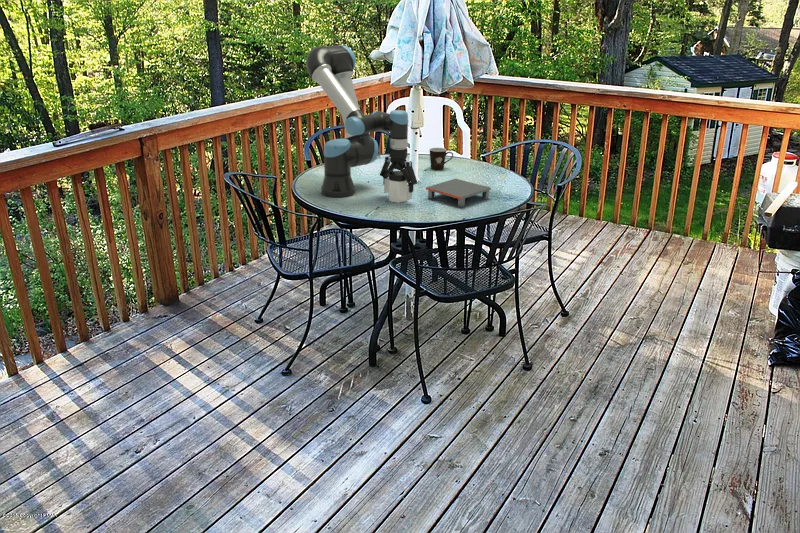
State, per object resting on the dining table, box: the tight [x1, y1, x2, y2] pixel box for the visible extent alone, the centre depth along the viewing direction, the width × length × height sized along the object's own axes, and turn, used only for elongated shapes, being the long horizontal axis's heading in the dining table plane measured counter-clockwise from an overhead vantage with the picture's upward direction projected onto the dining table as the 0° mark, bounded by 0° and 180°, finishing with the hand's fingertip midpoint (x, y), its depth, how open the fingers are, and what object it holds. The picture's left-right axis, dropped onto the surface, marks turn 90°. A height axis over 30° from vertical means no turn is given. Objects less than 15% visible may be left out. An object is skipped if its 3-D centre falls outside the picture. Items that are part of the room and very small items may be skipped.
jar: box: [388, 170, 408, 204], centre depth 287 cm, size 9×8×12 cm
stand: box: [425, 178, 492, 208], centre depth 291 cm, size 20×21×5 cm
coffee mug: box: [429, 147, 454, 171], centre depth 336 cm, size 12×9×10 cm
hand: (398, 195), depth 288 cm, fingers open, 13 cm apart
